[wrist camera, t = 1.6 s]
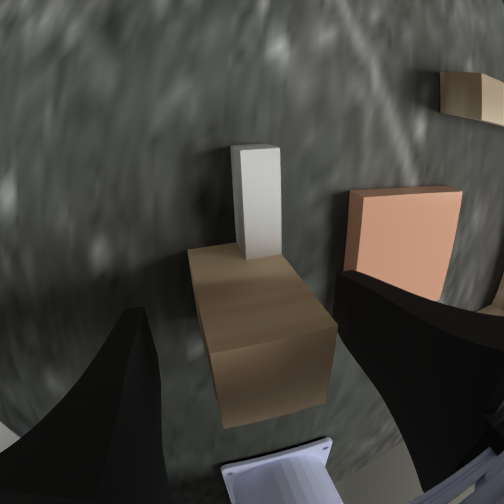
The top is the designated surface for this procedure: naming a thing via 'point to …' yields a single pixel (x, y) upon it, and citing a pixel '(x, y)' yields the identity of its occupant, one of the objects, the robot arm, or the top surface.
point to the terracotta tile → (403, 236)
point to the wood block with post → (259, 306)
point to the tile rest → (481, 109)
